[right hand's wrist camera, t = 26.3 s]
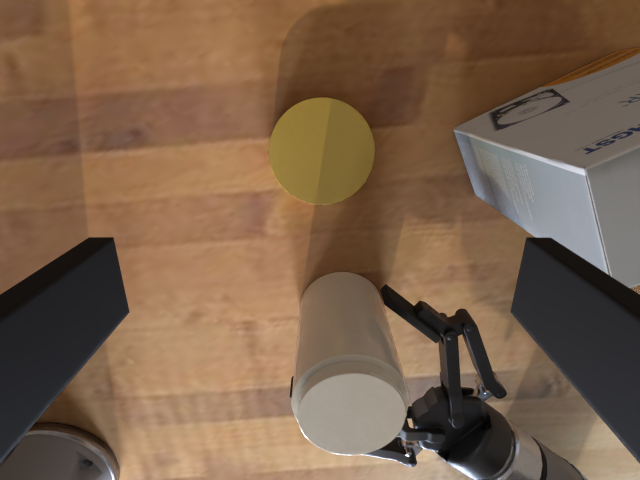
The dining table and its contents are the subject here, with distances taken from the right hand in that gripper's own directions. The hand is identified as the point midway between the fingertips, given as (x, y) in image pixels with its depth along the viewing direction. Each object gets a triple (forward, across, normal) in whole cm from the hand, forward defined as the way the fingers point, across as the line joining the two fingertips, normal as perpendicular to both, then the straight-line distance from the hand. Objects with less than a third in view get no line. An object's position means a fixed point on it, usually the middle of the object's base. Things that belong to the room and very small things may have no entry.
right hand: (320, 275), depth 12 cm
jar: (+26, +2, -17) cm, 31 cm away
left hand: (+19, +2, -17) cm, 26 cm away
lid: (+25, 0, 0) cm, 25 cm away
